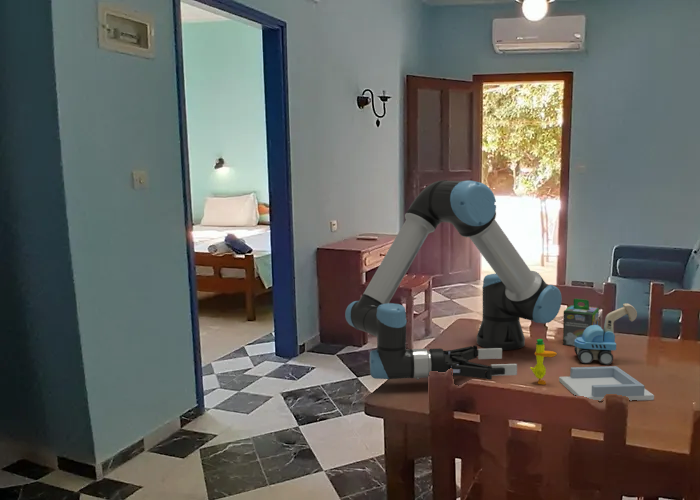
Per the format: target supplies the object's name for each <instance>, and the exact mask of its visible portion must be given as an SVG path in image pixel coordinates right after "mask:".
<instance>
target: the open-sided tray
mask: <svg viewBox="0 0 700 500" xmlns="http://www.w3.org/2000/svg"><path fill="white" fill-rule="evenodd" d="M569 371H570V373H569V374H570V375H569V376H559V377H558V381H559V383H560V384H561V385H562V386H563V387H565V388H566V389H567V390H568V391H569V392H570V393H571V394H572V395H573V394H574V395H573V396H575V395H577V396H584V397H587V398H589V399H593V400H599V401H601V400H602V399H603V398H604V396H605V395H606V394H617V395H622V396H626V397H628V398H629V400H630V401H632V400H637V401H654V400H655V395H654V394H653V393H652V392H650V391H649V390H648V389H646V388H645V385H644V384H643V383H641V382H640V381H638V380H637V379H636V378H634V377H633V376H631V375H630V374H628V373H627V372H625V371H624V370H622V369H621V368H620V367H618V365H616V366H615V365H614V366H613V365H611V366H609V365H605V366H578V367H576V366H575V367H574V366H573V367H570V370H569ZM632 402H633V401H632Z"/></svg>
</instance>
